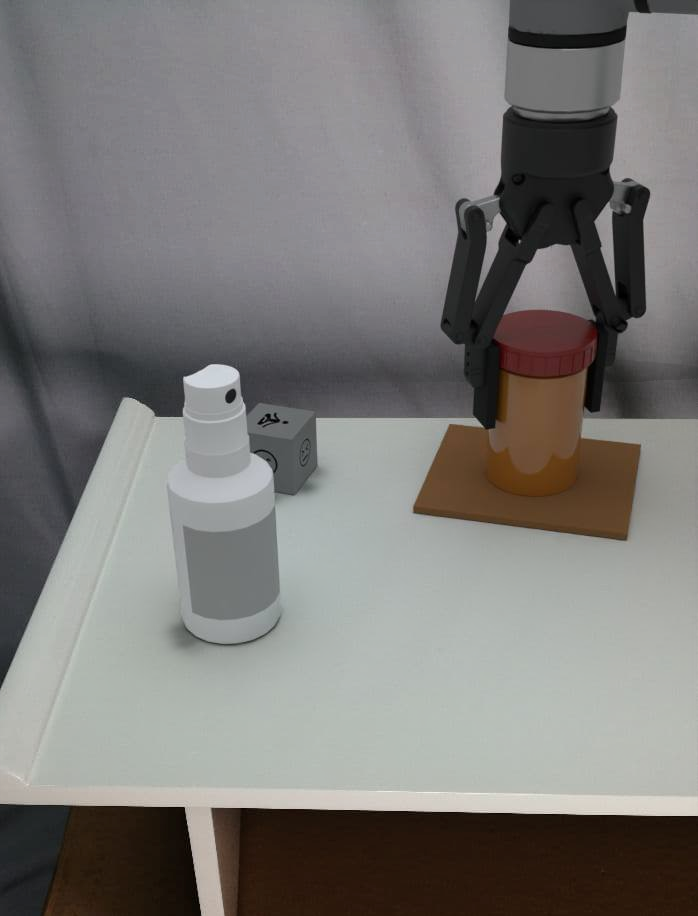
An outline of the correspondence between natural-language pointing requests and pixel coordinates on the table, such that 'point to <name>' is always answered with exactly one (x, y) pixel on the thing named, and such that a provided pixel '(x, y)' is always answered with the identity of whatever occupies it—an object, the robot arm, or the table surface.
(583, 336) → the lid
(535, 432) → the jar
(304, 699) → the table surface
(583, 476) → the mat
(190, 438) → the spray bottle
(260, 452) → the gray cube
